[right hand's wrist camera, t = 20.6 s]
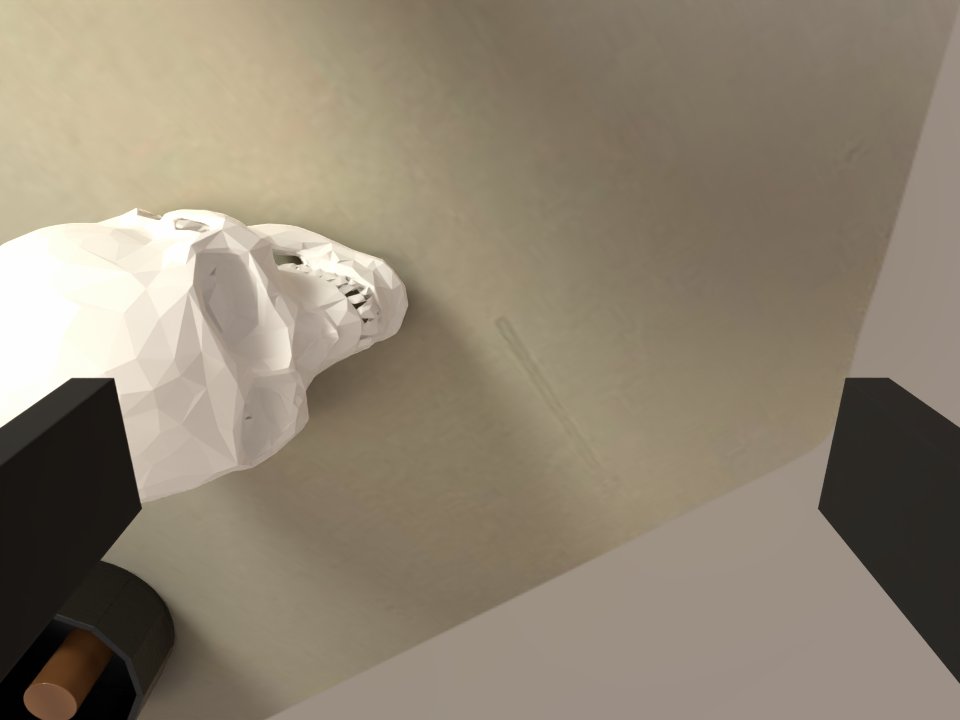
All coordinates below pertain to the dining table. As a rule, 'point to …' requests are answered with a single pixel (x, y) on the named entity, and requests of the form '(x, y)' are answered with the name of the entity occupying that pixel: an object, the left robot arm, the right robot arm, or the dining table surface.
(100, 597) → the saucepan
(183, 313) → the skull
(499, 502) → the dining table surface
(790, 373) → the dining table surface
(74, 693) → the brown wooden cylinder
